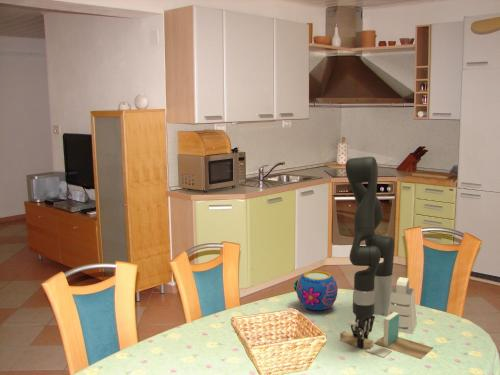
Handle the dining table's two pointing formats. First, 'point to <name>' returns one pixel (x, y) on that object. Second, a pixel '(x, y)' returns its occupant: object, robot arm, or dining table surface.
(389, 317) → the tile
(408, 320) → the grater
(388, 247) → the robot arm
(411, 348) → the board
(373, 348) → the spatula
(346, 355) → the dining table surface
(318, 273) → the ceramic pot
